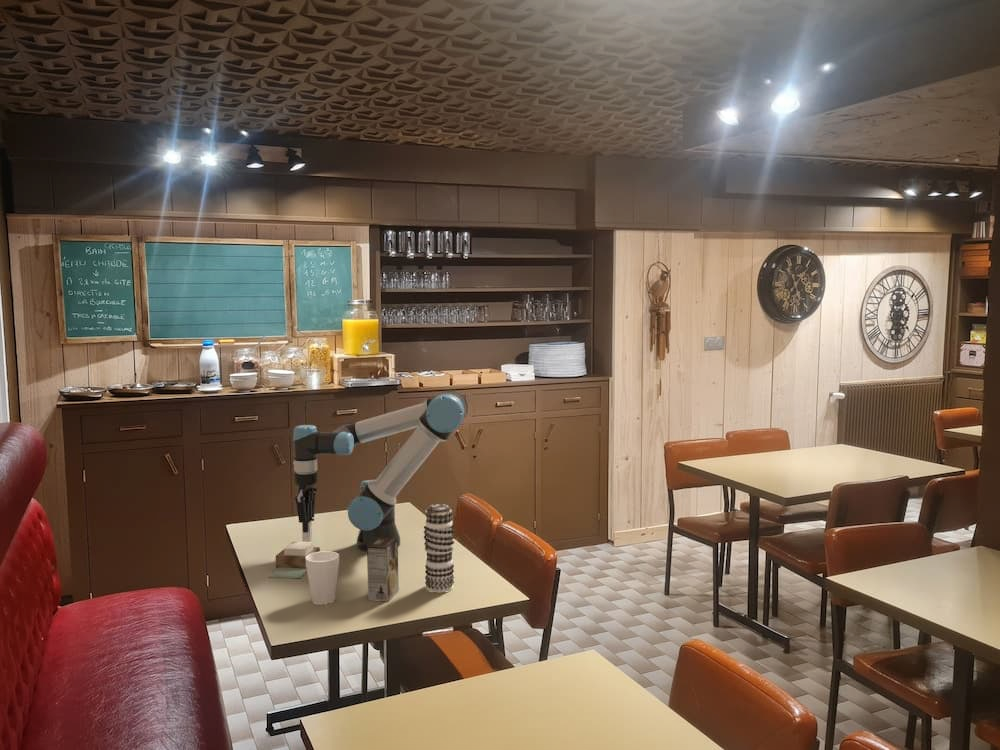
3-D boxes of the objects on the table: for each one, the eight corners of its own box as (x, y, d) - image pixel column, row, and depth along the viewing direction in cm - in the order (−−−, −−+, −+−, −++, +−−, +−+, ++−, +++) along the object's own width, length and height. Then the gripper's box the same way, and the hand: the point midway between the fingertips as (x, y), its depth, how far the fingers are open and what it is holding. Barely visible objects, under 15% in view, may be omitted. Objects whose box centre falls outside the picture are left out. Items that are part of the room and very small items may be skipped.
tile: (313, 549, 253) (313, 542, 253) (305, 556, 247) (304, 549, 246) (292, 548, 254) (292, 541, 254) (284, 555, 247) (284, 548, 247)
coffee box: (378, 588, 229) (377, 536, 228) (399, 590, 228) (398, 537, 226) (367, 600, 220) (366, 546, 219) (388, 602, 219) (387, 547, 217)
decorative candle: (455, 593, 226) (454, 509, 223) (423, 593, 225) (422, 510, 223) (455, 581, 235) (454, 501, 232) (424, 582, 234) (423, 502, 232)
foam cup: (310, 609, 214) (309, 564, 213) (303, 598, 222) (301, 554, 221) (344, 603, 218) (343, 558, 217) (335, 592, 226) (334, 549, 225)
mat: (309, 569, 245) (309, 568, 245) (299, 579, 237) (299, 577, 237) (279, 568, 247) (279, 567, 247) (268, 577, 239) (268, 576, 238)
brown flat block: (320, 559, 256) (319, 547, 255) (308, 569, 246) (308, 557, 245) (288, 557, 257) (288, 546, 257) (275, 567, 247) (275, 555, 247)
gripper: (302, 467, 263) (304, 534, 265) (286, 475, 250) (288, 546, 252) (323, 468, 262) (325, 535, 264) (308, 476, 249) (310, 547, 251)
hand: (307, 540), depth 258 cm, fingers closed
